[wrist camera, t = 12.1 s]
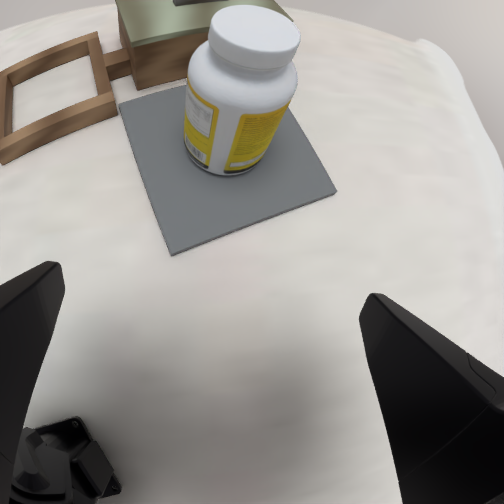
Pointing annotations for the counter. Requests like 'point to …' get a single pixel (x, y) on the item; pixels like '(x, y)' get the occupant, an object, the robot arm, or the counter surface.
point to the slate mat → (214, 185)
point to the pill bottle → (239, 88)
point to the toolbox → (114, 64)
